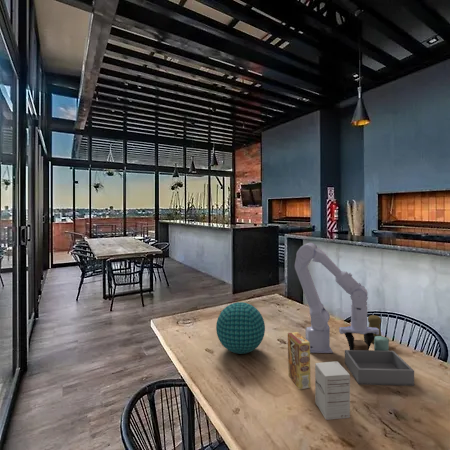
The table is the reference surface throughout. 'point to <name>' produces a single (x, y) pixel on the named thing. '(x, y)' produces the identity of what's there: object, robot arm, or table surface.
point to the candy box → (299, 360)
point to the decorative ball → (240, 328)
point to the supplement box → (332, 390)
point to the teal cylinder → (381, 343)
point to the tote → (378, 368)
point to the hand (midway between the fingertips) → (358, 351)
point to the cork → (375, 323)
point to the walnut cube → (360, 345)
